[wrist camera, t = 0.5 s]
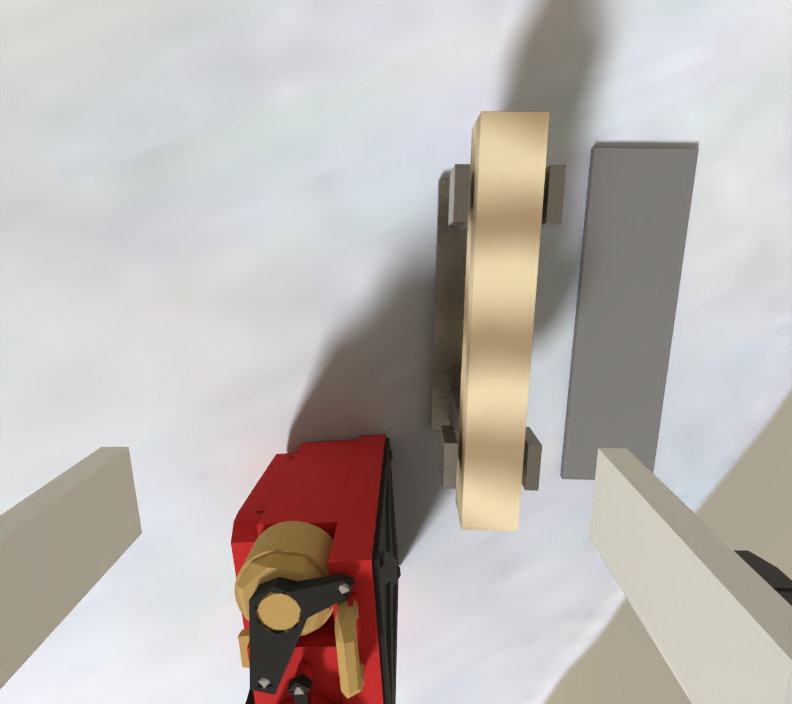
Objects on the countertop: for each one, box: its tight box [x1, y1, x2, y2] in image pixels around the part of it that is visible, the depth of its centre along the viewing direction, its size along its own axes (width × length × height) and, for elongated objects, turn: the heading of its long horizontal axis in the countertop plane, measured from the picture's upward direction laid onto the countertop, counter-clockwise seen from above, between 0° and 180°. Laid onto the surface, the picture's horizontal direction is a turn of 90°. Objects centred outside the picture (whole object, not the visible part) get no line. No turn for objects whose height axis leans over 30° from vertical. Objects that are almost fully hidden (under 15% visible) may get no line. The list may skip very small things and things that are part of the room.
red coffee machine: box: [231, 434, 401, 704], centre depth 34 cm, size 16×10×20 cm, turn 4°
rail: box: [456, 111, 550, 531], centre depth 28 cm, size 24×4×4 cm, turn 179°
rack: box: [431, 164, 566, 490], centre depth 33 cm, size 21×6×13 cm, turn 179°
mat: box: [560, 148, 698, 480], centre depth 39 cm, size 28×8×1 cm, turn 179°
